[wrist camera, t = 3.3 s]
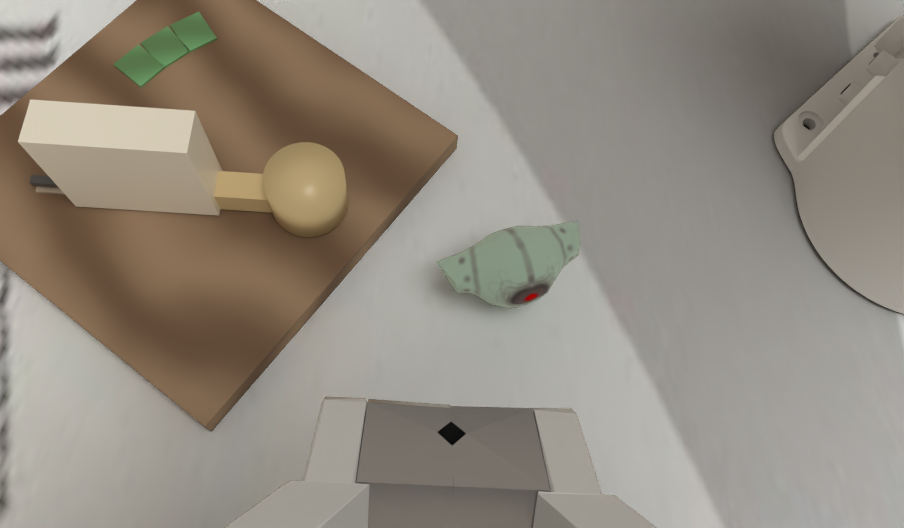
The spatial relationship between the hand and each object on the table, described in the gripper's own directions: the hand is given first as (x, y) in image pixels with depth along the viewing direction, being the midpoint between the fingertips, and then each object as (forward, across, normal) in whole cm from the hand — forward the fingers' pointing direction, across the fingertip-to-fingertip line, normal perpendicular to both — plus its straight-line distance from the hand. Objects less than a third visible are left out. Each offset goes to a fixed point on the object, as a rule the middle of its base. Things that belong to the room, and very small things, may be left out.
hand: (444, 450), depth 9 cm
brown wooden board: (+37, +14, +8) cm, 40 cm away
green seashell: (+33, -5, +13) cm, 35 cm away
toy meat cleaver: (+34, +13, +8) cm, 38 cm away
